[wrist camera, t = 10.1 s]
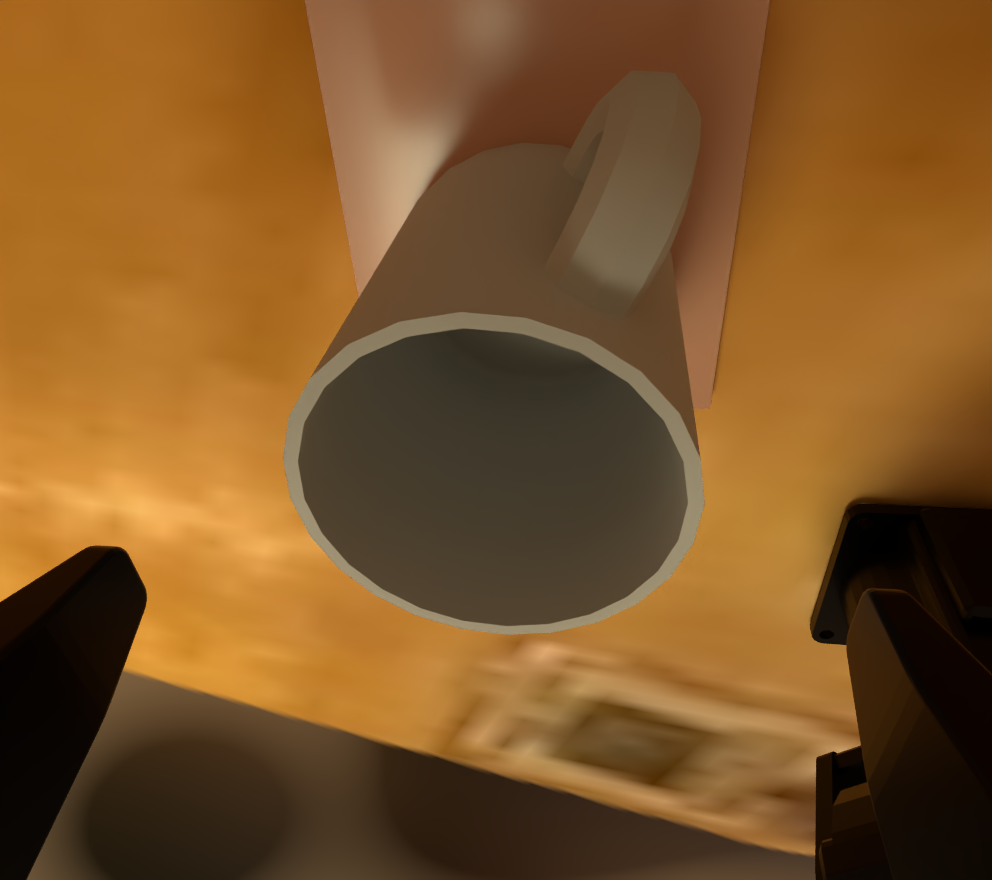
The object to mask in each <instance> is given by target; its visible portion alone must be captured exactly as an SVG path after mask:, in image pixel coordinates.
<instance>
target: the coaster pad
mask: <svg viewBox="0 0 992 880" xmlns="http://www.w3.org/2000/svg"><path fill="white" fill-rule="evenodd" d="M769 4H770V0H305V5H306V10H307V16H308V21H309V27H310V32H311V38H312V43H313V49H314V54H315V60H316V65H317V71H318V76H319V82H320V87H321V93H322V98H323V104H324V109H325V115H326V120H327V126H328V131H329V137H330V142H331V148H332V153H333V159H334V164H335V170H336V175H337V181H338V186H339V192H340V197H341V203H342V208H343V214H344V219H345V225H346V230H347V236H348V241H349V247H350V252H351V258H352V263H353V269H354V274H355V280H356V285H357V291H358V296H359V297H360V295H361V293H362V292H363V290H364V288H365V287H366V285H367V283H368V282H369V280H370V278H371V277H372V275H373V273H374V272H375V270H376V268H377V267H378V265H379V263H380V262H381V260H382V258H383V257H384V255H385V253H386V252H387V250H388V248H389V247H390V245H391V243H392V242H393V240H394V238H395V237H396V235H397V234H398V232H399V230H400V229H401V227H402V225H403V224H404V222H405V220H406V219H407V217H408V215H409V214H410V212H411V210H412V209H413V207H414V205H415V204H416V202H417V201H418V200H419V199H420V197H421V196H422V195H423V194H424V193H425V192H426V191H427V190H428V189H429V188H430V187H431V186H432V185H433V184H434V183H435V182H436V181H437V180H438V179H439V178H440V177H441V176H442V175H443V174H444V173H445V172H446V171H447V170H449V169H450V168H451V167H453V166H455V165H457V164H459V163H461V162H463V161H465V160H466V159H468V158H470V157H472V156H474V155H476V154H478V153H480V152H482V151H484V150H489V149H494V148H498V147H503V146H508V145H513V144H517V143H534V144H548V145H561V146H564V147H567V148H570V149H571V148H572V146H573V144H574V142H575V140H576V138H577V136H578V135H579V133H580V131H581V129H582V127H583V125H584V124H585V122H586V120H587V118H588V117H589V115H590V114H591V112H592V110H593V109H594V107H595V106H596V104H597V103H598V102H599V101H600V100H601V99H602V98H603V97H604V96H605V95H606V94H607V93H608V92H609V91H610V90H611V89H612V88H613V87H614V86H615V85H616V84H618V83H619V82H620V81H621V80H622V79H623V78H624V77H625V76H626V75H627V74H628V73H629V72H630V71H631V70H634V71H655V72H670V73H675V74H676V75H677V77H678V78H679V79H680V81H681V82H682V84H683V85H684V86H685V88H686V89H687V91H688V92H689V93H690V95H691V96H692V98H693V99H694V100H695V102H696V103H697V106H698V109H699V112H700V115H701V133H700V147H699V152H698V157H697V162H696V167H695V172H694V177H693V182H692V186H691V190H690V194H689V198H688V202H687V206H686V210H685V213H684V216H683V218H682V221H681V223H680V226H679V229H678V231H677V234H676V236H675V239H674V241H673V244H672V246H671V248H670V252H671V255H672V262H673V269H674V276H675V283H676V290H677V297H678V304H679V311H680V318H681V325H682V332H683V339H684V346H685V354H686V361H687V368H688V375H689V382H690V389H691V396H692V403H693V408H696V409H710V404H711V397H712V390H713V384H714V377H715V370H716V363H717V357H718V350H719V343H720V336H721V329H722V323H723V316H724V309H725V302H726V295H727V289H728V282H729V275H730V268H731V262H732V255H733V248H734V241H735V234H736V228H737V221H738V214H739V207H740V201H741V194H742V187H743V180H744V173H745V167H746V160H747V153H748V146H749V139H750V133H751V126H752V119H753V112H754V106H755V99H756V92H757V85H758V78H759V72H760V65H761V58H762V51H763V44H764V38H765V31H766V24H767V17H768V11H769Z"/></svg>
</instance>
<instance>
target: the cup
mask: <svg viewBox="0 0 992 880" xmlns="http://www.w3.org/2000/svg"><path fill="white" fill-rule="evenodd" d="M700 133H701V115H700V112H699V109H698V106H697V103H696V102H695V100H694V99H693V98H692V96H691V95H690V93H689V92H688V91H687V89H686V88H685V86H684V85H683V84H682V82H681V81H680V79H679V78H678V77H677V75H676V74H675V73H670V72H655V71H634V70H631V71H630V72H629V73H628V74H627V75H626V76H625V77H624V78H623V79H622V80H621V81H620V82H619V83H618V84H616V85H615V86H614V87H613V88H612V89H611V90H610V91H609V92H608V93H607V94H606V95H605V96H604V97H603V98H602V99H601V100H600V101H599V102H598V103H597V104H596V106H595V107H594V109H593V110H592V112H591V114H590V115H589V117H588V118H587V120H586V122H585V124H584V125H583V127H582V129H581V131H580V133H579V135H578V136H577V138H576V140H575V142H574V144H573V146H572V148H571V149H570V148H567V147H564V146H561V145H548V144H534V143H517V144H513V145H508V146H503V147H498V148H494V149H489V150H484V151H482V152H480V153H478V154H476V155H474V156H472V157H470V158H468V159H466V160H465V161H463V162H461V163H459V164H457V165H455V166H453V167H451V168H450V169H449V170H447V171H446V172H445V173H444V174H443V175H442V176H441V177H440V178H439V179H438V180H437V181H436V182H435V183H434V184H433V185H432V186H431V187H430V188H429V189H428V190H427V191H426V192H425V193H424V194H423V195H422V196H421V197H420V199H419V200H418V201H417V202H416V204H415V205H414V207H413V209H412V210H411V212H410V214H409V215H408V217H407V219H406V220H405V222H404V224H403V225H402V227H401V229H400V230H399V232H398V234H397V235H396V237H395V238H394V240H393V242H392V243H391V245H390V247H389V248H388V250H387V252H386V253H385V255H384V257H383V258H382V260H381V262H380V263H379V265H378V267H377V268H376V270H375V272H374V273H373V275H372V277H371V278H370V280H369V282H368V283H367V285H366V287H365V288H364V290H363V292H362V293H361V295H360V297H359V298H358V300H357V302H356V303H355V305H354V307H353V308H352V310H351V311H350V313H349V315H348V316H347V318H346V320H345V321H344V323H343V325H342V326H341V328H340V330H339V331H338V333H337V335H336V336H335V338H334V340H333V341H332V343H331V345H330V346H329V348H328V350H327V351H326V353H325V355H324V356H323V358H322V360H321V361H320V363H319V365H318V366H317V368H316V370H315V371H314V373H313V375H312V376H311V378H310V380H309V381H308V383H307V385H306V387H305V389H304V390H303V392H302V394H301V396H300V398H299V399H298V401H297V403H296V405H295V407H294V408H293V410H292V412H291V414H290V416H289V420H288V426H287V433H286V440H285V447H284V454H283V461H284V466H285V472H286V477H287V482H288V488H289V493H290V498H291V500H292V502H293V504H294V506H295V508H296V510H297V512H298V514H299V516H300V517H301V519H302V521H303V523H304V525H305V527H306V529H307V531H308V533H309V535H310V536H311V537H312V539H313V540H314V541H315V542H316V543H317V544H318V545H319V546H320V548H321V549H322V550H323V551H324V552H325V553H326V554H327V556H328V557H329V558H330V559H331V560H332V561H333V562H334V563H335V565H336V566H337V567H338V568H339V569H340V570H342V571H343V572H344V573H346V574H347V575H348V576H350V577H351V578H352V579H354V580H355V581H356V582H358V583H359V584H361V585H362V586H363V587H365V588H366V589H367V590H369V591H370V592H371V593H373V594H374V595H376V596H378V597H380V598H382V599H384V600H386V601H388V602H390V603H392V604H394V605H396V606H398V607H400V608H402V609H404V610H406V611H408V612H410V613H412V614H414V615H416V616H419V617H423V618H426V619H430V620H433V621H436V622H440V623H443V624H447V625H450V626H453V627H457V628H460V629H467V630H475V631H483V632H491V633H499V634H507V635H509V634H531V633H552V632H557V631H562V630H566V629H571V628H575V627H579V626H584V625H588V624H592V623H597V622H599V621H601V620H603V619H606V618H608V617H610V616H612V615H614V614H616V613H619V612H621V611H623V610H625V609H627V608H629V607H631V606H634V605H636V604H637V603H639V602H640V601H641V600H642V599H644V598H645V597H646V596H647V595H649V594H650V593H651V592H652V591H654V590H655V589H656V588H657V587H659V586H660V585H661V584H662V583H664V582H665V581H666V580H667V579H669V578H670V577H671V575H672V574H673V572H674V571H675V569H676V568H677V567H678V565H679V564H680V562H681V561H682V559H683V558H684V556H685V555H686V553H687V552H688V551H689V549H690V548H691V546H692V545H693V543H694V539H695V536H696V532H697V529H698V525H699V521H700V518H701V514H702V511H703V507H704V503H705V502H704V491H703V481H702V470H701V460H700V452H699V445H698V438H697V431H696V424H695V417H694V410H693V403H692V396H691V389H690V382H689V375H688V368H687V361H686V354H685V346H684V339H683V332H682V325H681V318H680V311H679V304H678V297H677V290H676V283H675V276H674V269H673V262H672V255H671V252H670V248H671V246H672V244H673V241H674V239H675V236H676V234H677V231H678V229H679V226H680V223H681V221H682V218H683V216H684V213H685V210H686V206H687V202H688V198H689V194H690V190H691V186H692V182H693V177H694V172H695V167H696V162H697V157H698V152H699V147H700Z"/></svg>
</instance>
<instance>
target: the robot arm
mask: <svg viewBox="0 0 992 880" xmlns="http://www.w3.org/2000/svg"><path fill="white" fill-rule="evenodd" d="M863 518H868V519H866V520H864V521H858V520H860V519H863ZM146 602H147V593H146V588H145V586H144V584H143V582H142V580H141V578H140V576H139V574H138V572H137V570H136V568H135V566H134V564H133V562H132V560H131V558H130V556H129V555H128V553H127V552H126V551H125V550H124V549H122V548H120V547H114V546H90V547H87V548H85V549H83V550H82V551H80V552H79V553H77V554H75V555H74V556H72V557H71V558H69V559H68V560H66V561H64V562H63V563H61V564H60V565H58V566H57V567H55V568H53V569H52V570H50V571H49V572H47V573H45V574H44V575H42V576H41V577H39V578H38V579H36V580H34V581H33V582H31V583H30V584H28V585H27V586H25V587H23V588H22V589H20V590H19V591H17V592H16V593H14V594H12V595H11V596H9V597H8V598H6V599H4V600H3V601H1V602H0V880H27V878H28V876H29V873H30V871H31V869H32V867H33V865H34V863H35V861H36V859H37V857H38V855H39V853H40V851H41V849H42V847H43V845H44V843H45V840H46V838H47V836H48V834H49V832H50V830H51V828H52V826H53V824H54V822H55V820H56V818H57V815H58V813H59V812H60V809H61V807H62V805H63V803H64V801H65V799H66V797H67V795H68V793H69V791H70V789H71V787H72V785H73V783H74V781H75V778H76V776H77V774H78V772H79V770H80V768H81V766H82V764H83V762H84V760H85V758H86V756H87V754H88V752H89V749H90V748H91V745H92V743H93V741H94V739H95V737H96V735H97V733H98V731H99V729H100V726H101V724H102V722H103V719H104V718H105V715H106V712H107V710H108V708H109V705H110V703H111V700H112V698H113V695H114V692H115V690H116V687H117V684H118V681H119V679H120V676H121V673H122V670H123V668H124V665H125V662H126V660H127V657H128V654H129V651H130V649H131V646H132V643H133V640H134V638H135V635H136V632H137V629H138V627H139V624H140V621H141V618H142V616H143V613H144V610H145V607H146ZM810 630H811V634H812V637H813V639H814V640H815V641H817V642H820V643H826V644H841V645H846V646H847V658H848V664H849V671H850V677H851V684H852V690H853V697H854V703H855V709H856V716H857V722H858V729H859V735H860V742H861V746H858V747H855V748H852V749H849V750H846V751H843V752H840V753H836V752H834V751H833V752H830V753H827V754H825V755H822V756H819V757H817V759H816V848H815V873H816V880H992V509H971V508H949V507H926V506H904V505H881V504H858V505H855V506H852V507H851V508H850V509H848V510H847V511H846V513H845V515H844V518H843V521H842V524H841V528H840V531H839V534H838V537H837V540H836V543H835V547H834V550H833V553H832V556H831V559H830V563H829V566H828V569H827V572H826V575H825V578H824V582H823V585H822V588H821V591H820V594H819V598H818V601H817V604H816V607H815V610H814V613H813V617H812V620H811V623H810Z"/></svg>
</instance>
